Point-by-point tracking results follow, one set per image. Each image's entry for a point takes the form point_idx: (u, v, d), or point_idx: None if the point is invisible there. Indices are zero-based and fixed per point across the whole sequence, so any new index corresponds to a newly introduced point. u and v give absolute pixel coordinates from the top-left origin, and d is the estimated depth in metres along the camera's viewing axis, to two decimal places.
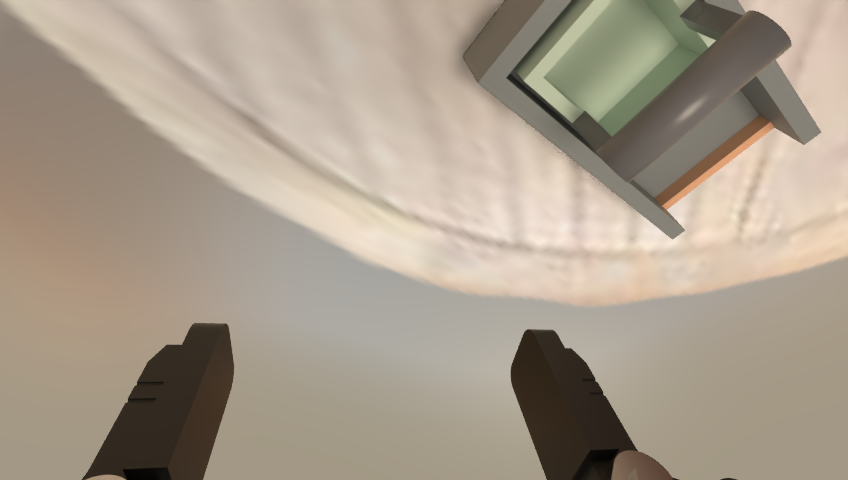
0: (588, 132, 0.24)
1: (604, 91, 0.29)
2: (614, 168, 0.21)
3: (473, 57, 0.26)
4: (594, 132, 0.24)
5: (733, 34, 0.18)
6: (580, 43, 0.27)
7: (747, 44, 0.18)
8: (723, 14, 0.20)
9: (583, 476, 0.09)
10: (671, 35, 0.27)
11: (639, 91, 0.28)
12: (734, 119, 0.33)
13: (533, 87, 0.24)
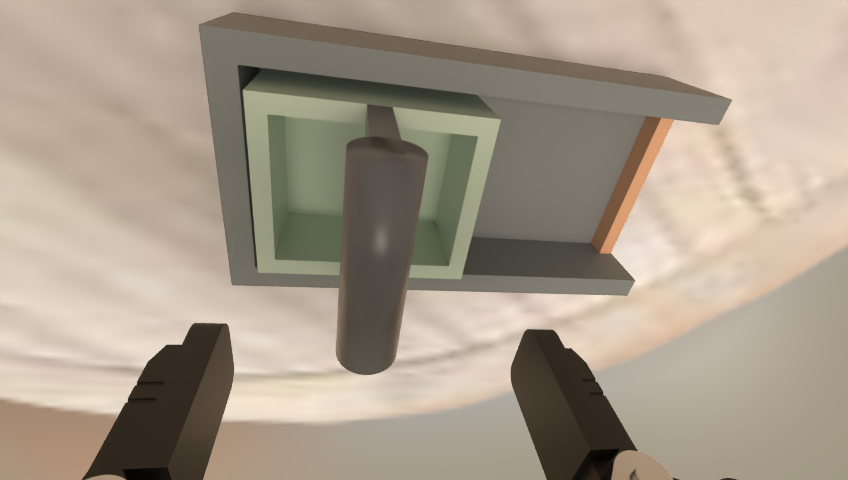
0: None
1: None
2: (348, 367, 0.15)
3: None
4: None
5: (345, 182, 0.12)
6: (340, 171, 0.22)
7: (354, 195, 0.12)
8: (368, 130, 0.14)
9: (583, 476, 0.09)
10: None
11: (447, 177, 0.22)
12: (620, 123, 0.23)
13: (275, 271, 0.19)
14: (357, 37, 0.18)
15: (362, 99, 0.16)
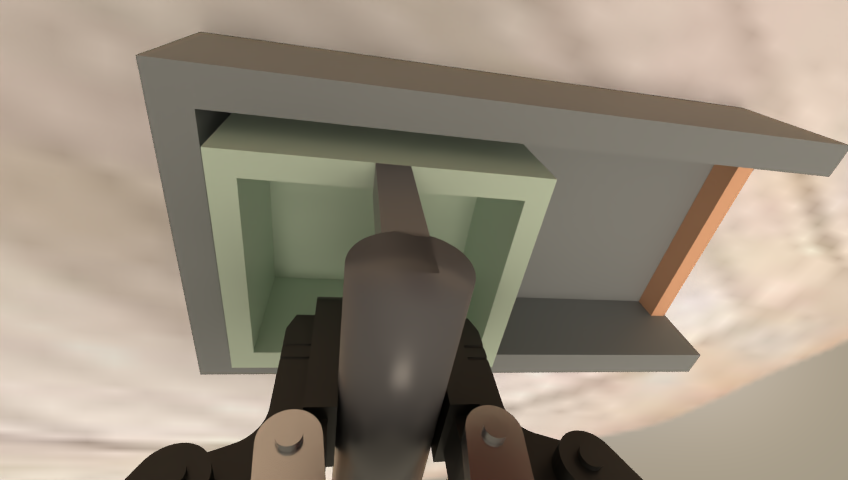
0: None
1: None
2: None
3: None
4: None
5: (343, 310, 0.08)
6: (340, 227, 0.17)
7: (358, 341, 0.07)
8: (378, 213, 0.09)
9: (450, 432, 0.09)
10: None
11: (473, 235, 0.18)
12: (686, 165, 0.19)
13: (254, 366, 0.15)
14: (361, 65, 0.14)
15: (369, 155, 0.12)
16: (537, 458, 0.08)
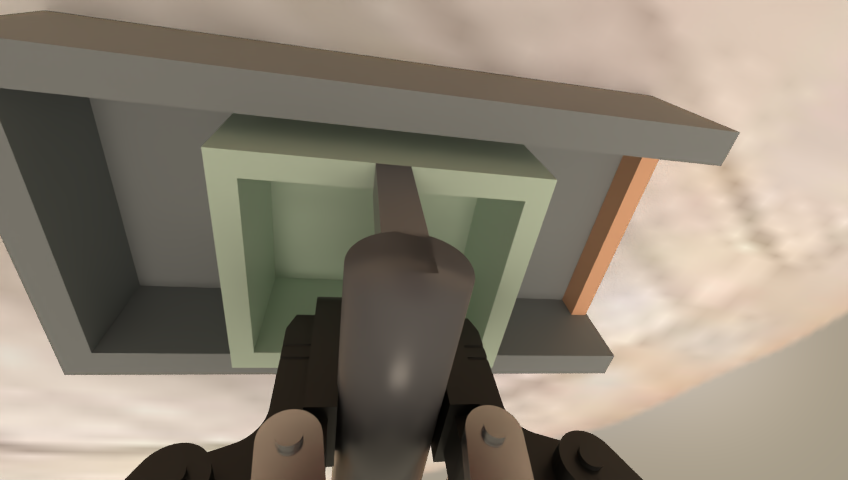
0: None
1: None
2: None
3: None
4: None
5: (342, 309, 0.08)
6: (341, 228, 0.17)
7: (357, 341, 0.07)
8: (378, 213, 0.09)
9: (450, 432, 0.09)
10: None
11: (474, 236, 0.18)
12: (592, 156, 0.18)
13: (254, 366, 0.15)
14: (205, 45, 0.13)
15: (369, 155, 0.12)
16: (537, 458, 0.08)
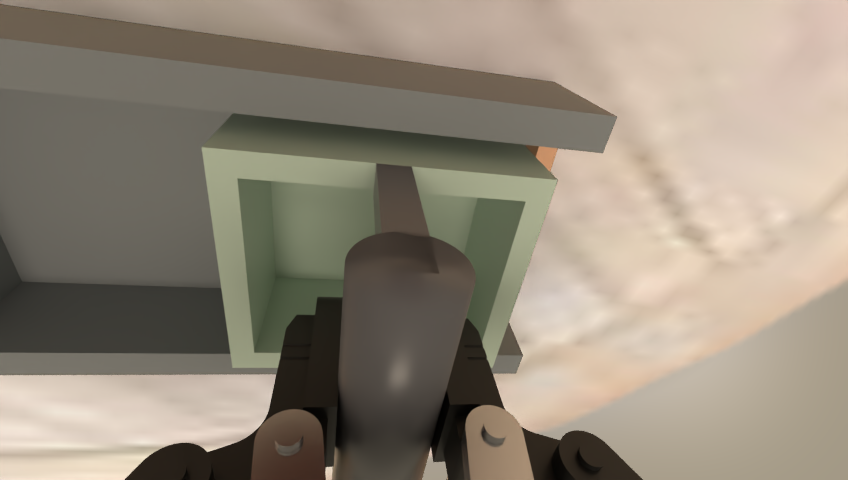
0: None
1: None
2: None
3: None
4: None
5: (343, 310, 0.08)
6: (341, 228, 0.17)
7: (358, 341, 0.07)
8: (378, 213, 0.09)
9: (450, 432, 0.09)
10: None
11: (474, 236, 0.18)
12: None
13: (254, 366, 0.15)
14: (33, 22, 0.12)
15: (370, 155, 0.12)
16: (537, 458, 0.08)
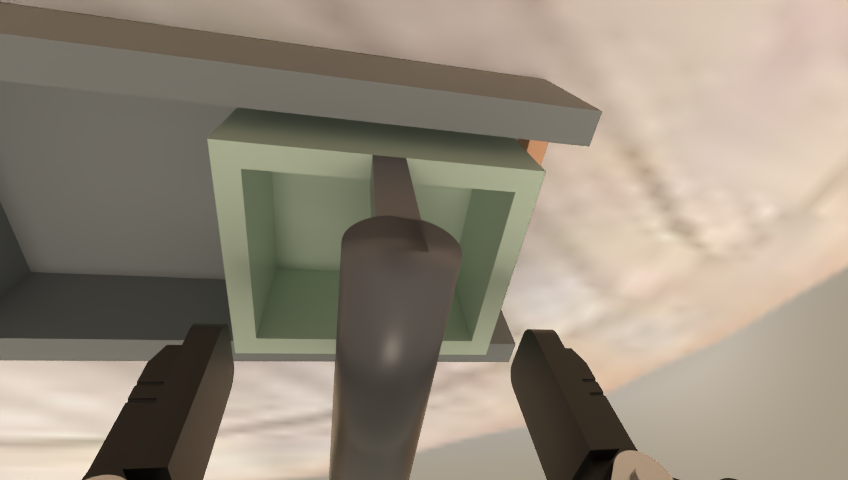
0: None
1: None
2: None
3: None
4: None
5: (340, 287, 0.08)
6: (340, 220, 0.18)
7: (353, 314, 0.08)
8: (374, 200, 0.10)
9: (583, 476, 0.09)
10: None
11: (468, 228, 0.18)
12: None
13: (256, 351, 0.16)
14: (46, 20, 0.12)
15: (366, 147, 0.12)
16: None
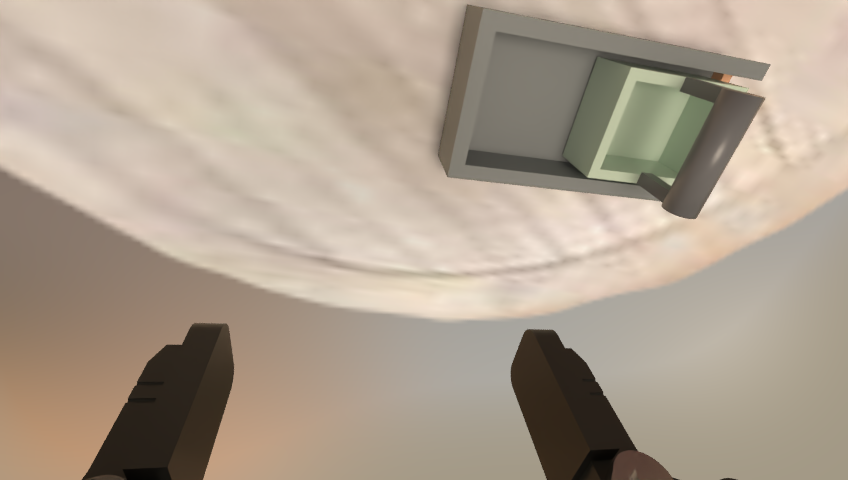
0: (650, 189, 0.32)
1: (652, 140, 0.37)
2: (679, 214, 0.29)
3: (442, 156, 0.35)
4: (655, 188, 0.32)
5: (718, 107, 0.26)
6: None
7: (731, 112, 0.25)
8: (708, 87, 0.28)
9: (583, 476, 0.09)
10: None
11: (680, 129, 0.36)
12: None
13: (596, 177, 0.33)
14: None
15: (679, 75, 0.30)
16: None
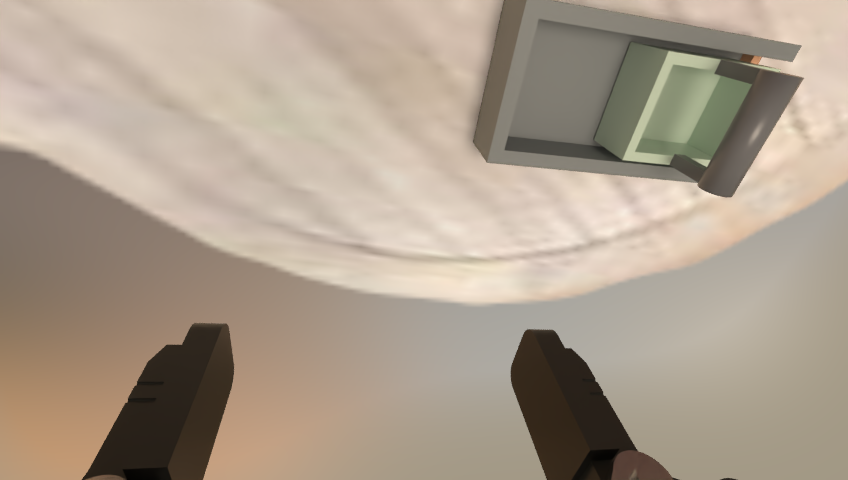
0: (684, 170, 0.33)
1: (681, 123, 0.38)
2: (716, 193, 0.30)
3: (479, 142, 0.36)
4: (689, 169, 0.33)
5: (757, 88, 0.27)
6: None
7: (770, 92, 0.26)
8: (745, 69, 0.29)
9: (583, 476, 0.09)
10: None
11: (710, 111, 0.37)
12: None
13: (630, 160, 0.34)
14: None
15: (713, 58, 0.31)
16: None
